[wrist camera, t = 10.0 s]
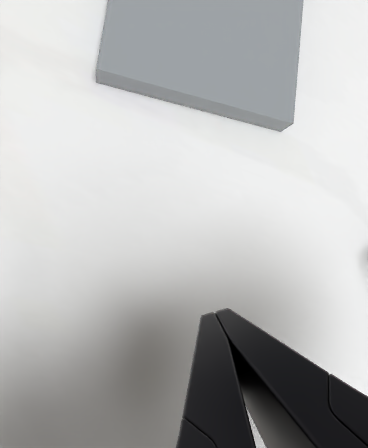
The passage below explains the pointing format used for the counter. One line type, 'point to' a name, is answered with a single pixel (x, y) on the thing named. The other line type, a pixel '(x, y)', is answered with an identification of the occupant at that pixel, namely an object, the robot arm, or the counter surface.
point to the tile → (207, 55)
